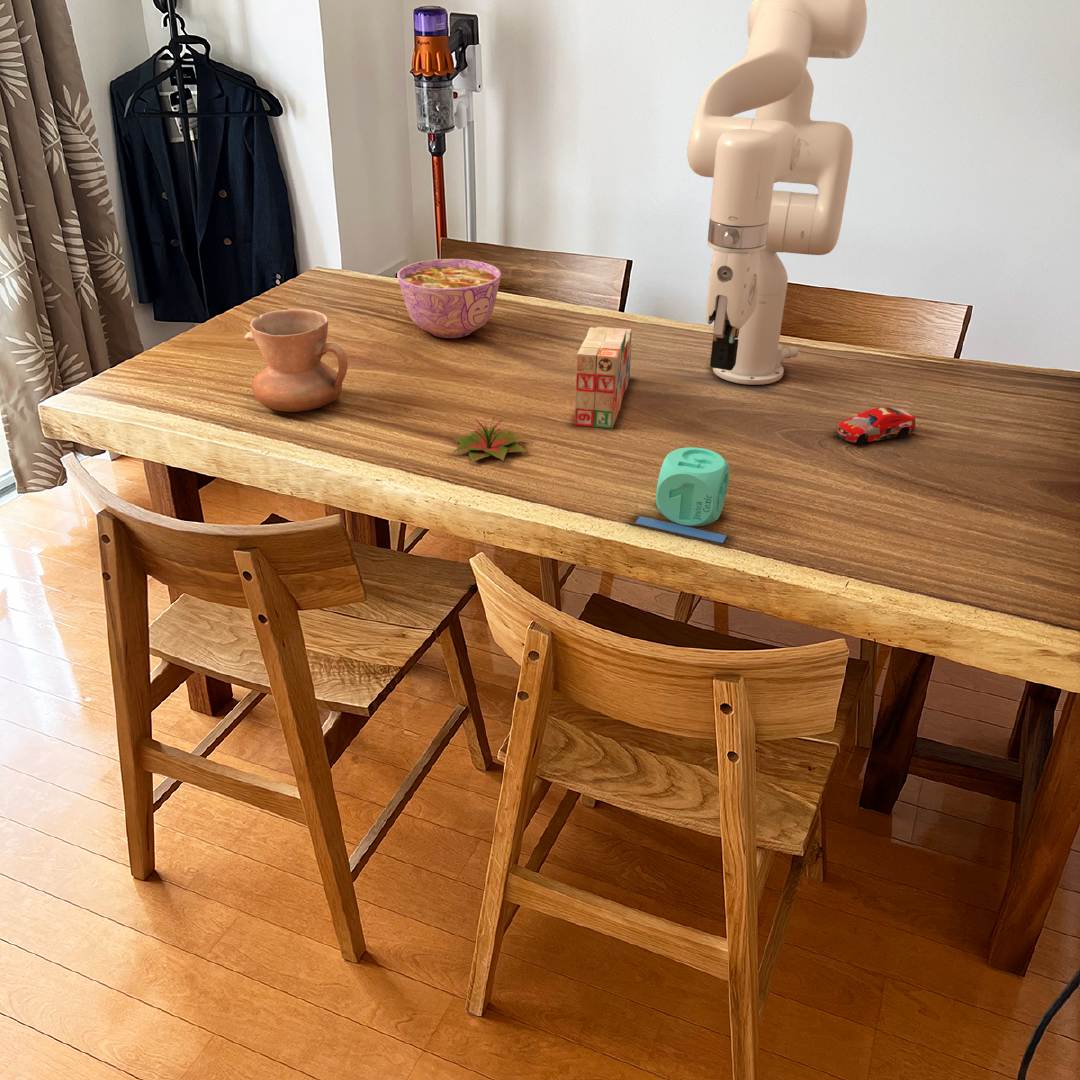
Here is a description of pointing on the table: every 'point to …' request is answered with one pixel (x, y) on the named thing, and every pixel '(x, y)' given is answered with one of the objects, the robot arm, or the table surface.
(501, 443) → the lily flower
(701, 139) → the robot arm
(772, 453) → the table surface
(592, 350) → the stack of blocks
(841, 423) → the race car
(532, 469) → the table surface
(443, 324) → the bowl of food
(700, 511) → the decorative dice
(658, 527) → the tape line
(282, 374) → the ceramic jug
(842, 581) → the table surface
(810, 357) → the table surface
